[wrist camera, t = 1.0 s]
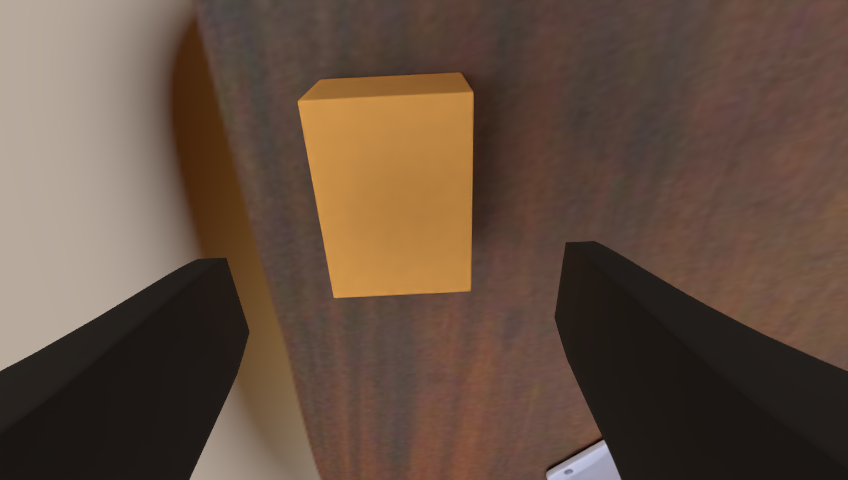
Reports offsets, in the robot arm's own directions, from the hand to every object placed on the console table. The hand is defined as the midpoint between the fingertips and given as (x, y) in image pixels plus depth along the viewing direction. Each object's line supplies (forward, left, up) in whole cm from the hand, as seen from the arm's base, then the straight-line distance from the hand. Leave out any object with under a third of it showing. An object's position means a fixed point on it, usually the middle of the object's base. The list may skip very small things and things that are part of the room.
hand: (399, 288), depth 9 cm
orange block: (-1, 0, -8) cm, 8 cm away
